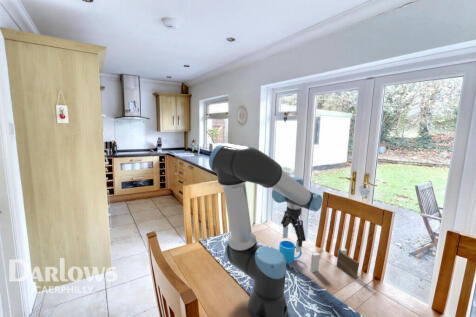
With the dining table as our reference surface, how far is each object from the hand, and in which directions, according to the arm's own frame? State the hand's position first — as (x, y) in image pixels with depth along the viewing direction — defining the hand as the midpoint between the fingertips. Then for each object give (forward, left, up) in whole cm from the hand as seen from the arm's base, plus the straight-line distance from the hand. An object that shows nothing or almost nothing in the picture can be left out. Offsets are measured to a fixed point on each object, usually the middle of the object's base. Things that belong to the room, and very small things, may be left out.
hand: (291, 244), depth 119 cm
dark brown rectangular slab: (-18, -22, -8) cm, 29 cm away
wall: (-12, -15, -8) cm, 21 cm away
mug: (0, 0, -9) cm, 9 cm away
